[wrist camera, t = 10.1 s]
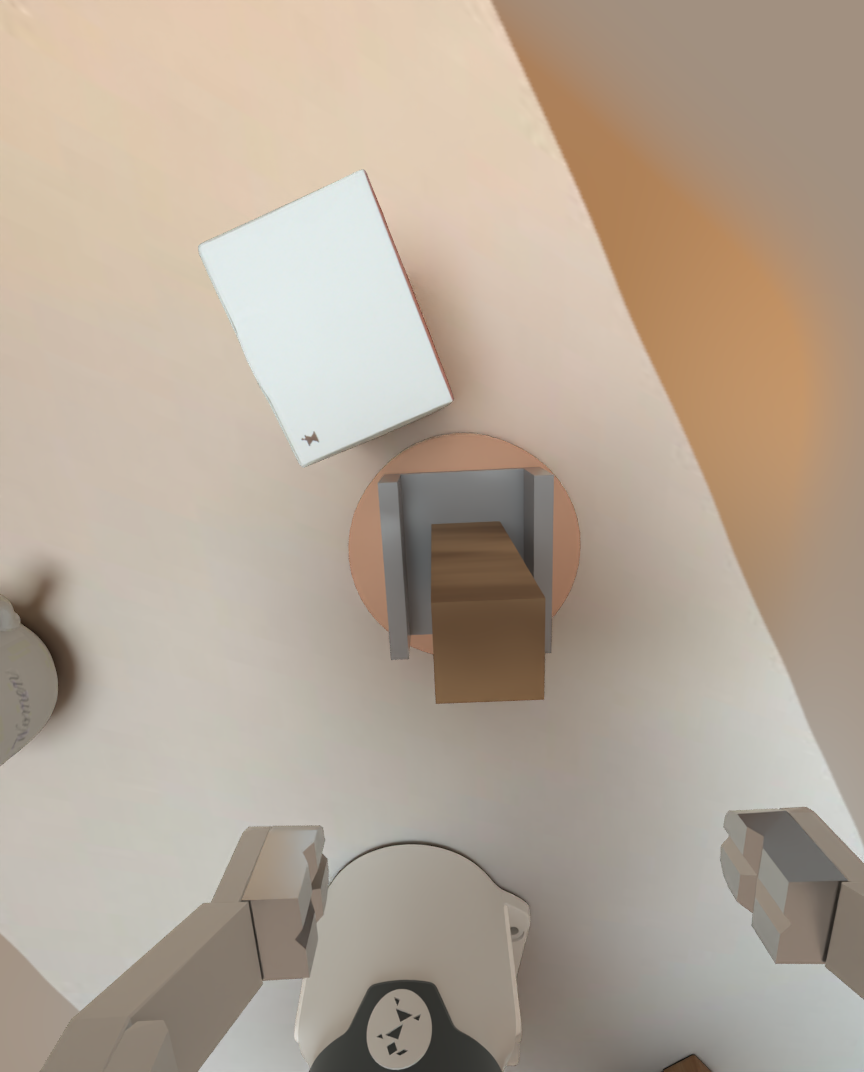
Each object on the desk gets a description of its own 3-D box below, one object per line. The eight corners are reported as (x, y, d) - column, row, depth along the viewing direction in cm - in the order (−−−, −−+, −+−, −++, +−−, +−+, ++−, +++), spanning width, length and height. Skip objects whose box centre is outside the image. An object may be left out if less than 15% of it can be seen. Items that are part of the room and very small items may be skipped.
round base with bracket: (566, 635, 34) (594, 682, 28) (364, 644, 34) (349, 693, 28) (571, 427, 30) (604, 432, 25) (345, 438, 31) (324, 445, 25)
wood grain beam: (500, 585, 30) (543, 699, 18) (434, 588, 30) (435, 703, 18) (499, 521, 29) (545, 598, 17) (431, 524, 29) (430, 602, 17)
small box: (447, 406, 30) (458, 405, 18) (352, 446, 31) (297, 473, 18) (394, 270, 28) (364, 160, 16) (294, 316, 29) (187, 246, 16)
